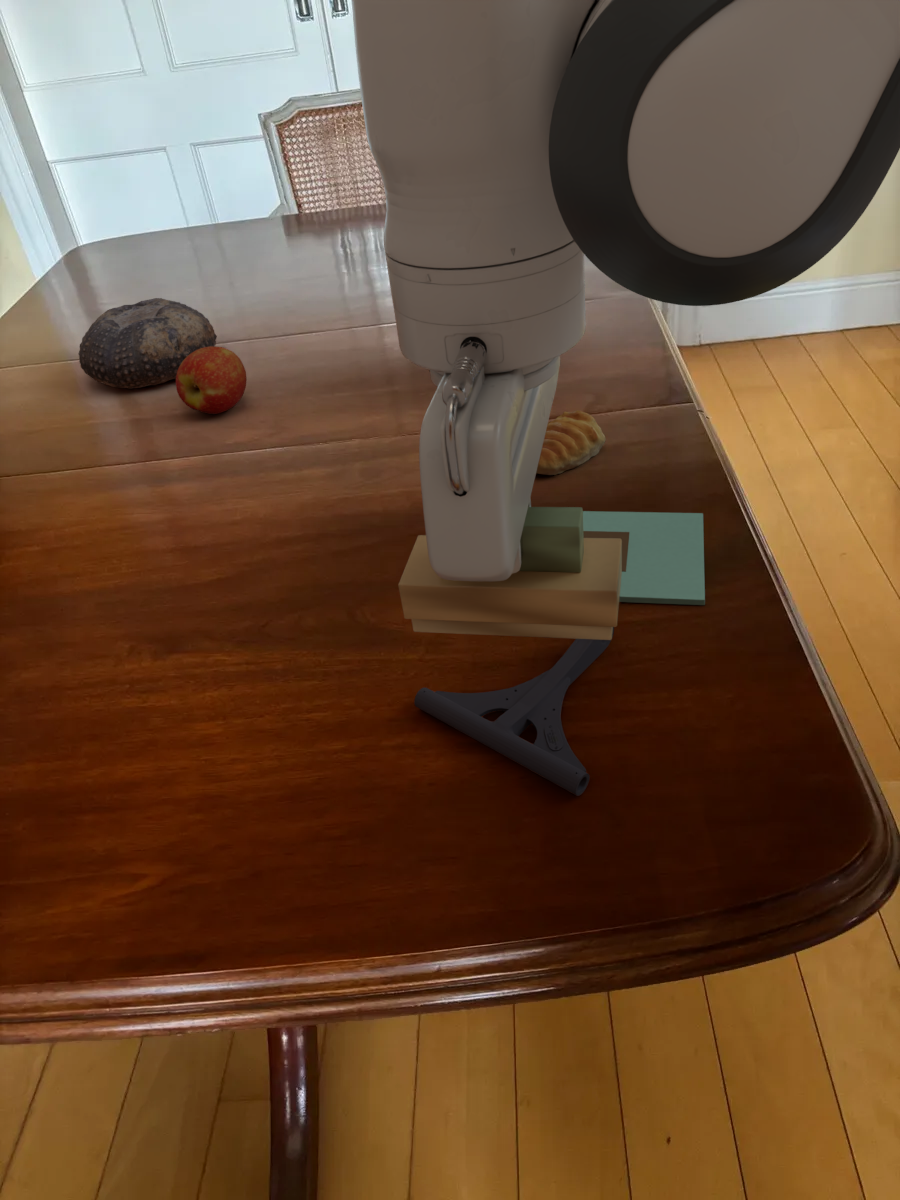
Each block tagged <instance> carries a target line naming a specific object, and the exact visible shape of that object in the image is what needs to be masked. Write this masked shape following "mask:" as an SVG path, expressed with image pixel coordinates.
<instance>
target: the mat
mask: <svg viewBox="0 0 900 1200" xmlns="http://www.w3.org/2000/svg"><path fill="white" fill-rule="evenodd" d="M583 536H584V538H618V539H621V540H622V575H621V587H620V598H619V603H633V604H634V603H639V604H659V605H661V604H663V605H664V604H665V605H686V606H705V605H706V589H705V587H706V586H705V585H706V584H705V583H706V582H705V581H706V579H705V542H704V541H705V539H704V538H705V537H704V536H705V533H704V513H703V512H660V511H659V512H653V511H604V510H603V511H601V510H600V511H598V510H595V511H593V510H592V511H591V510H583Z"/></svg>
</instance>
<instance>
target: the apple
mask: <svg viewBox="0 0 900 1200" xmlns="http://www.w3.org/2000/svg"><path fill="white" fill-rule="evenodd" d="M247 380H248V379H247V371H246V368H245V365H244V364H243V362H242V360H241V358H240V357H239V355H237V354H236V352H234V351H232V350H230V349H228V348H225V347H222V346H214V347H213V346H210V347H204V348H200V349H198V350H196V351H194V352H192V353H191V354H190V355H188V356H187V357H186V358H185V359H184V360H183V362H182V363H181V365H180V366H179V368H178V371H177V375H176V379H175V387H176V392H177V394H178V397H179V399H180V400H181V401H182V403H183V404H185V406H187V407H188V408H190V409H192V410H194V411H197V412H200V413H203V414H207V415H208V414H209V415H215V414H221V413H224V412H227V411H229V410H230V409H232V408H233V407H234V406H236V405H237V404H238V403H239V402H240V401H241V399H242V397H243V395H244V393H245V391H246V388H247V382H248V381H247Z"/></svg>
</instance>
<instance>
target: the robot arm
mask: <svg viewBox="0 0 900 1200" xmlns="http://www.w3.org/2000/svg"><path fill="white" fill-rule="evenodd" d="M351 5H352V6H351V7H352V8H351V9H352V22H353V35H354V44H355V45H354V46H355V55H356V65H357V66H356V67H357V76H358V82H359V91H360V99H361V105H362V113H363V120H364V127H365V132H366V133H365V134H366V139H367V144H368V146H369V151H370V152H371V155H372V157H373V159H374V162H375V163H376V166H377V169H378V171H379V174H380V177H381V181H382V184H383V189H384V196H385V219H384V226H383V249H384V255H385V262H386V267H387V274H388V281H389V287H390V294H391V301H392V305H393V306H392V307H393V313H394V319H395V326H396V332H397V340H398V345H399V350H400V352H401V354H402V355H403V356H404V358H405V359H406V360H408V361H409V362H411V364H414V365H415V366H418V367H420V368H422V369H426V370H429V378H430V380H431V382H432V384H434V385H435V386H436V389H435V392H434V393H433V396H432V398H431V400H430V403H429V404H428V407H427V409H426V411H425V413H424V415H423V419H422V422H421V426H420V434H419V440H418V441H419V442H418V443H419V444H418V462H419V463H418V464H419V466H418V467H419V479H420V480H419V481H420V489H421V491H420V492H421V501H422V511H423V520H424V521H423V522H424V530H425V535H426V540H427V548H428V556H429V561H430V564H431V567H432V568H433V570H434V571H435V573H436V574H437V575H438V576H439V577H440V578H442V579H445V580H454V581H489V582H493V581H504V580H506V579H508V578H509V577H510V576H511V574H512V573H517V572H518V571H519V570H520V567H521V563H522V558H523V538H522V531H523V526H524V522H525V518H526V514H527V509H528V507H532V501H531V497H532V492H533V488H534V484H535V480H536V475H537V473H536V471H537V467H538V463H539V459H540V454H541V450H542V446H543V442H544V438H545V433H546V429H547V425H548V422H550V416H551V412H552V407H553V405H554V404H553V403H554V399H555V396H556V392H557V386H558V379H559V374H560V373H559V372H560V367H561V355H562V356H563V355H564V354H565V353H567V352H568V351H570V350H572V349H573V348H574V347H575V346H576V345H578V344H579V342H580V341H581V340H582V338H583V337H584V335H585V333H586V330H587V317H586V316H587V315H586V281H585V280H586V278H585V277H586V275H585V273H586V272H585V257H586V258H587V260H588V261H590V262H591V263H592V264H593V266H594V267H596V268H597V269H598V270H599V271H600V272H602V273H603V275H605V276H606V277H608V278H609V279H610V280H612V281H613V282H615V283H616V284H618V285H619V286H621V287H622V288H624V289H626V290H628V291H631V292H633V293H634V294H636V295H640V296H643V297H645V298H648V299H650V300H653V301H657V302H661V303H665V304H671V305H678V306H685V307H686V306H687V307H709V306H718V305H719V306H720V305H726V304H731V303H737V302H740V301H744V300H747V299H751V298H754V297H757V296H760V295H763V294H765V293H768V292H770V291H772V290H775V289H777V288H779V287H781V286H783V285H785V284H787V283H789V282H790V281H792V280H794V279H795V278H797V277H799V276H801V275H802V274H803V273H805V272H806V271H808V270H809V269H810V268H812V267H813V266H814V265H816V264H817V263H818V262H819V261H821V259H823V258H824V257H826V256H827V254H829V253H830V252H831V251H832V250H833V249H834V248H835V247H836V246H837V245H838V244H839V243H840V242H841V241H843V239H844V238H845V237H846V236H847V234H848V233H849V232H850V231H851V230H852V229H853V228H854V226H856V224H857V222H858V221H859V219H860V218H861V217H862V216H863V214H864V213H865V212H866V210H867V208H868V206H869V205H870V204H871V202H872V201H873V199H874V198H875V196H876V194H877V192H878V191H879V189H880V187H881V186H882V184H883V182H884V180H885V178H886V176H887V175H888V173H889V171H890V169H891V167H892V165H893V163H894V161H895V159H896V157H897V155H898V154H899V152H900V0H351Z"/></svg>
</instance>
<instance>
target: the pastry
mask: <svg viewBox="0 0 900 1200" xmlns="http://www.w3.org/2000/svg"><path fill="white" fill-rule="evenodd" d="M606 440H607V438H606V436H605V434H604V433H603V431H602V428H601V427H600V425H599V424H598V423H597V421H596V419H595V418H594V417H593V416H592V415H591V414H589V413H587V412H584V411H581V410H573V411H563V412H562V414H560V415H558V416H557V417H556V418H555V419H553V420H551V421H548V425H547V429H546V433H545V438H544V442H543V446H542V450H541V454H540V459H539V463H538V467H537V471H536V474H539V475H545V476H546V475H547V476H553V475H554V476H556V475H558V474H559V475H560V474H563V473H564V472H565V471H568V470H574V469H575V468H577V467H580V466H581V465H583V464H584V463H587V462H588V461H589V460H590V459H591V458H592V457H595V456H597V455H598V454H599V453H600V450H601V449H602V448H603V446H604V445H605V443H606Z"/></svg>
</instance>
